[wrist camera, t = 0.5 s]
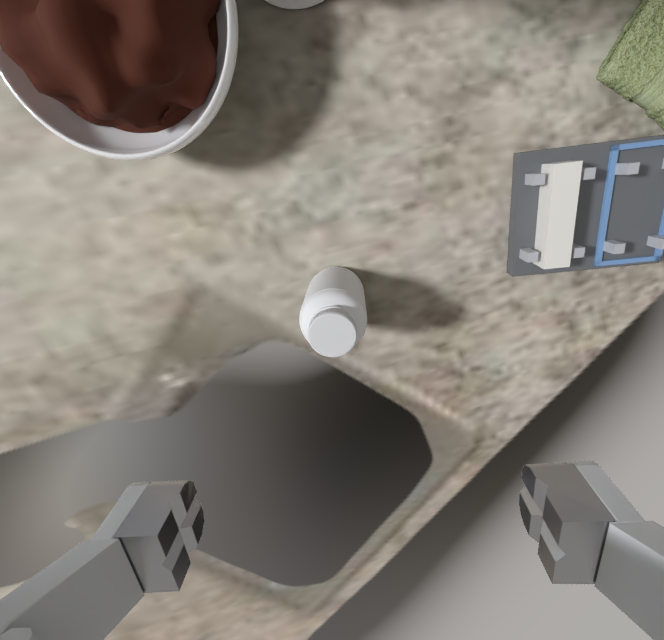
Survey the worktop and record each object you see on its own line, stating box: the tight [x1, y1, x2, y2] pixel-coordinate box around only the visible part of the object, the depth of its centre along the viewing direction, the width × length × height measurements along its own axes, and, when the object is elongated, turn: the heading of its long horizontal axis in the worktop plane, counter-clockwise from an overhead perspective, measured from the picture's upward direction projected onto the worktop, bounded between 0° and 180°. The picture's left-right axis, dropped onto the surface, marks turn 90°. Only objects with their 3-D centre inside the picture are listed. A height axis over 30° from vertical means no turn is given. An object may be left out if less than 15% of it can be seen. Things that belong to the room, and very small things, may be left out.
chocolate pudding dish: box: [0, 0, 238, 161], centre depth 37 cm, size 25×25×15 cm
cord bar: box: [533, 161, 583, 269], centre depth 45 cm, size 12×3×3 cm, turn 7°
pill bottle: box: [299, 267, 367, 357], centre depth 47 cm, size 8×8×15 cm
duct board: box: [507, 135, 664, 276], centre depth 46 cm, size 15×18×4 cm
